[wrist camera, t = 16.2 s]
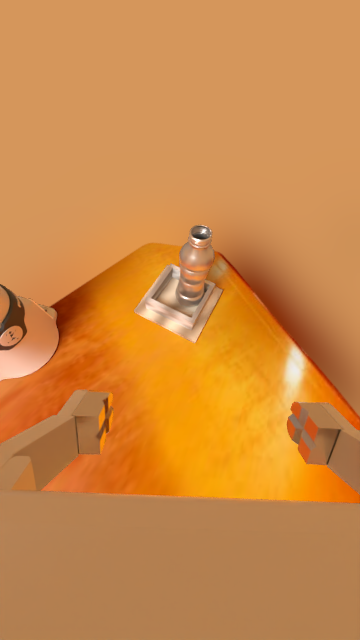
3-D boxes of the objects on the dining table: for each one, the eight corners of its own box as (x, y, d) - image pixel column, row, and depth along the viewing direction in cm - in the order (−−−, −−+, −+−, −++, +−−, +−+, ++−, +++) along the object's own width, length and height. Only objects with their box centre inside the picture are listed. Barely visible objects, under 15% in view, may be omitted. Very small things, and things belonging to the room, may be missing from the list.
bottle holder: (134, 312, 51) (131, 302, 47) (167, 267, 58) (167, 255, 54) (194, 343, 49) (197, 335, 45) (222, 292, 55) (226, 281, 51)
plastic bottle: (170, 293, 53) (173, 225, 35) (194, 284, 55) (208, 214, 37) (182, 314, 51) (191, 252, 33) (207, 304, 52) (229, 239, 34)
